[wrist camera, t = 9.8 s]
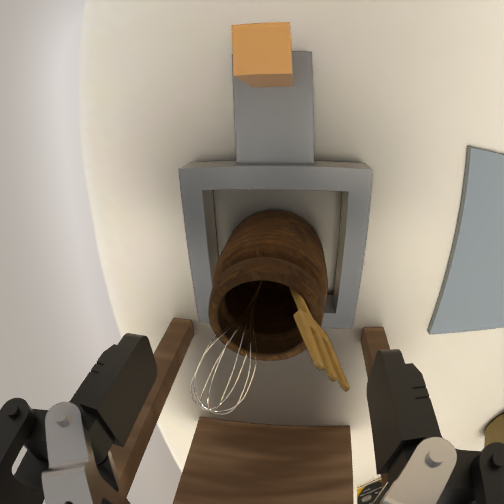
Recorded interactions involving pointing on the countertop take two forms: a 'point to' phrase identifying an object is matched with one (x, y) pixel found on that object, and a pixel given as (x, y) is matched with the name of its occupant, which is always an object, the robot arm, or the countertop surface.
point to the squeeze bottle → (495, 431)
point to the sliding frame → (275, 163)
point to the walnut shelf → (247, 445)
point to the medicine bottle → (369, 492)
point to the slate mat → (475, 252)
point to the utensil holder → (271, 296)
